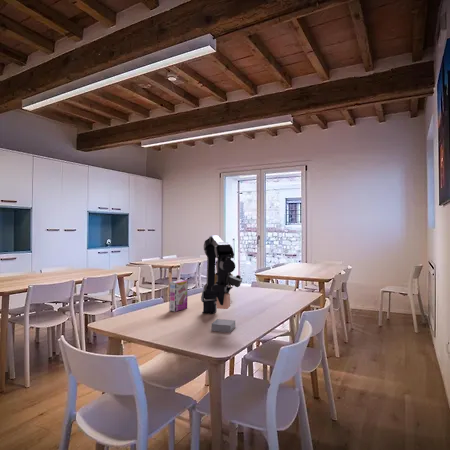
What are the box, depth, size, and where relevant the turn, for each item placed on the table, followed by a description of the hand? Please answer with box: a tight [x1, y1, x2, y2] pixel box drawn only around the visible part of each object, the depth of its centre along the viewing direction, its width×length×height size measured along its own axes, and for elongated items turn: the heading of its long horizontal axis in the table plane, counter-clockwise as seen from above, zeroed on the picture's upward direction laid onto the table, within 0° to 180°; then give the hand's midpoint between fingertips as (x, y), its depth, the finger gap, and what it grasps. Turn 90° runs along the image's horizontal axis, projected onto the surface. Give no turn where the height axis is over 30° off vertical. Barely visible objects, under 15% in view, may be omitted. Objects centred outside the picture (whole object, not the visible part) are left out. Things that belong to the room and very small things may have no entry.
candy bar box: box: [168, 279, 189, 313], centre depth 191 cm, size 11×5×16 cm, turn 149°
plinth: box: [210, 318, 236, 333], centre depth 154 cm, size 9×9×3 cm
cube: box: [216, 292, 231, 310], centre depth 154 cm, size 5×5×6 cm
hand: (223, 303), depth 154 cm, fingers closed on cube, 5 cm apart
